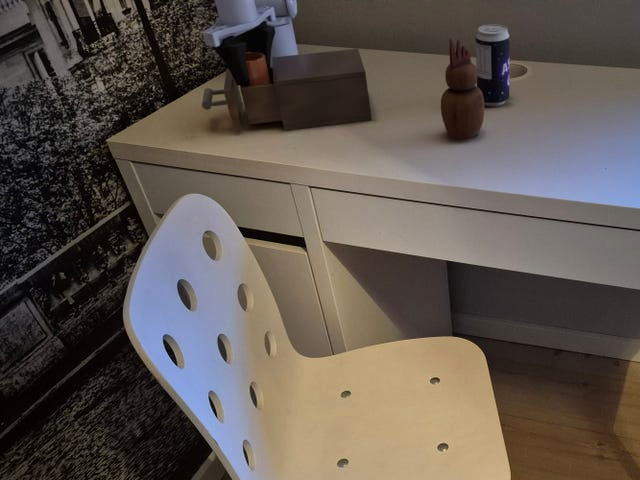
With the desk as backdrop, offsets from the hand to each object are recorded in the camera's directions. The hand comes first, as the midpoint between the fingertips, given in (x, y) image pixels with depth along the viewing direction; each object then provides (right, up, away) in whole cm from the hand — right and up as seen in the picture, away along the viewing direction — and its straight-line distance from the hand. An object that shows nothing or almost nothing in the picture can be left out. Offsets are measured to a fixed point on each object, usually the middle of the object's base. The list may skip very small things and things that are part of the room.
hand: (254, 79), depth 110 cm
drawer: (0, -4, +4) cm, 6 cm away
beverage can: (+40, -1, +8) cm, 40 cm away
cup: (0, -1, +1) cm, 1 cm away
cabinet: (+10, -3, +6) cm, 13 cm away
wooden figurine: (+35, -10, -2) cm, 36 cm away
